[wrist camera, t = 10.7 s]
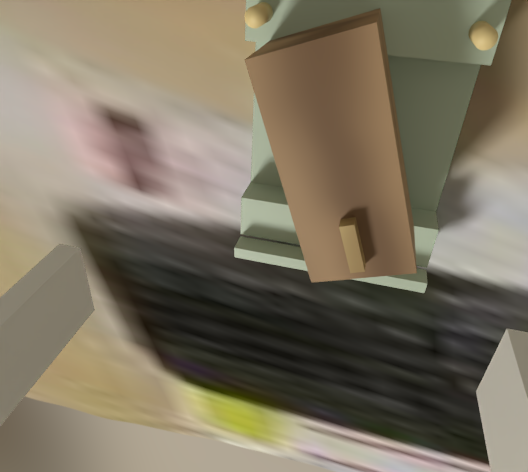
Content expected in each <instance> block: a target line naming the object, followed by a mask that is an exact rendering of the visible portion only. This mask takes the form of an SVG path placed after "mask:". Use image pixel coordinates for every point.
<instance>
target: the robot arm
mask: <svg viewBox="0 0 528 472" xmlns="http://www.w3.org/2000/svg"><path fill="white" fill-rule="evenodd" d="M93 311H94V306H93V301H92V297H91V292H90V288H89V284H88V279H87V275H86V270H85V266H84V261H83V257H82V252H81V248H79V247H74V246H68V245H63V244H59V245H58V246H57V247H55V248H54V249H53V250H52V251H51V252H50V253H49V254H48V255H47V256H46V257H44V258H43V259H42V260H41V261H40V262H39V263H38V264H37V265H36V266H35V267H33V268H32V269H31V270H30V271H29V272H28V273H27V274H26V275H25V276H24V277H22V278H21V279H20V280H19V281H18V282H17V283H16V284H15V285H14V286H13V287H11V288H10V289H9V290H8V291H7V292H6V293H5V294H4V295H3V296H2V297H0V426H1V425H2V424H3V422H4V421H5V420H6V419H7V417H8V416H9V415H10V414H11V412H12V411H13V410H14V409H15V407H16V406H17V405H18V404H19V402H20V401H21V400H22V399H23V397H24V396H25V395H26V394H27V393H28V391H29V390H30V389H31V388H32V386H33V385H34V384H35V383H36V382H37V380H38V379H39V378H40V377H41V375H42V374H43V373H44V372H45V370H46V369H47V368H48V367H49V365H50V364H51V363H52V362H53V360H54V359H55V358H56V357H57V356H58V354H59V353H60V352H61V351H62V349H63V348H64V347H65V346H66V344H67V343H68V342H69V341H70V339H71V338H72V337H73V336H74V335H75V333H76V332H77V331H78V330H79V328H80V327H81V326H82V325H83V323H84V322H85V321H86V320H87V318H88V317H89V316H90V315H91V314H92V312H93ZM476 393H477V399H478V404H479V410H480V415H481V420H482V426H483V431H484V436H485V442H486V447H487V452H488V458H489V463H490V469H491V472H528V332H522V331H517V330H512V329H506V331H505V333H504V335H503V337H502V340H501V342H500V344H499V346H498V348H497V350H496V352H495V354H494V356H493V358H492V360H491V362H490V364H489V366H488V368H487V370H486V372H485V374H484V377H483V379H482V381H481V383H480V385H479V387H478V389H477V391H476Z"/></svg>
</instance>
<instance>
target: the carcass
mask: <svg viewBox="0 0 528 472" xmlns="http://www.w3.org/2000/svg"><path fill="white" fill-rule="evenodd" d="M511 1H512V0H246V12H245V22H246V29H245V41H253V42H256V51H257V50H258V49H260V48H261V47H262V46H263V45H265V44H266V43H267V42H269V41H271V40H274V39H277V38H281V37H284V36H287V35H291V34H294V33H298V32H301V31H304V30H308V29H311V28H315V27H318V26H321V25H325V24H328V23H331V22H335V21H338V20H342V19H345V18H348V17H352V16H355V15H359V14H362V13H365V12H369V11H372V10H375V9H379V8H380V9H381V16H382V22H383V29H384V35H385V42H386V48H387V55H388V61H389V68H390V74H391V80H392V87H393V93H394V100H395V106H396V113H397V119H398V126H399V132H400V139H401V145H402V152H403V158H404V165H405V171H406V178H407V184H408V191H409V197H410V204H411V210H412V217H413V223H414V234H415V251H416V266H421V267H427V266H428V262H429V259H430V256H431V253H432V250H433V247H434V244H435V240H436V237H437V234H438V231H439V228H438V221H437V215H436V210H437V207H438V204H439V200H440V197H441V194H442V191H443V187H444V184H445V181H446V177H447V174H448V171H449V168H450V164H451V161H452V158H453V154H454V151H455V148H456V145H457V141H458V138H459V135H460V132H461V128H462V125H463V122H464V118H465V115H466V112H467V109H468V105H469V102H470V99H471V95H472V92H473V89H474V86H475V82H476V79H477V76H478V72H479V69H480V66H481V65H490V66H491V64H492V61H493V58H494V54H495V51H496V48H497V45H498V42H499V39H500V35H501V32H502V29H503V26H504V23H505V20H506V17H507V13H508V10H509V7H510V4H511ZM241 234H243V235H249V236H254V237H260V238H266V239H271V240H277V241H282V242H288V243H293V244H299V245H300V243H299V240H298V236H297V233H296V230H295V226H294V223H293V220H292V216H291V213H290V209H289V206H288V203H287V199H286V196H285V193H284V189H283V186H282V183H281V179H280V176H279V173H278V169H277V166H276V163H275V159H274V156H273V153H272V149H271V146H270V143H269V139H268V136H267V133H266V129H265V126H264V123H263V119H262V116H261V113H260V109H259V106H258V103H257V99H256V96H255V93H254V108H253V136H252V164H251V183H250V184H249V186H248V188H247V189H246V191H245V193H244V194H243V196H242V199H241ZM234 257H237V258H242V259H248V260H253V261H258V262H263V263H269V264H274V265H279V266H284V267H290V268H295V269H300V270H305V271H308V270H307V266H306V263H305V260H304V256H303V253H302V250H301V247H297V246H291V245H286V244H280V243H275V242H269V241H264V240H258V239H253V238H247V237H242V236H241V237H240V238H239V240H238V242H237V244H236V246H235V248H234ZM353 280H358V281H363V282H369V283H374V284H379V285H385V286H390V287H395V288H400V289H406V290H411V291H416V292H421V293H424V292H425V289H426V286H427V274H426V270H424V269H418V268H417V273H414V274H403V275H391V276H380V277H369V278H357V279H353Z"/></svg>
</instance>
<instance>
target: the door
mask: <svg viewBox="0 0 528 472" xmlns="http://www.w3.org/2000/svg"><path fill="white" fill-rule="evenodd" d="M245 63H246V66H247V69H248V73H249V76H250V79H251V83H252V86H253V89H254V93H255V96H256V99H257V103H258V106H259V109H260V113H261V116H262V119H263V123H264V126H265V129H266V133H267V136H268V139H269V143H270V146H271V149H272V153H273V156H274V159H275V163H276V166H277V169H278V173H279V176H280V179H281V183H282V186H283V189H284V193H285V196H286V199H287V203H288V206H289V209H290V213H291V216H292V220H293V223H294V226H295V230H296V233H297V236H298V240H299V243H300V246H301V250H302V253H303V256H304V260H305V263H306V266H307V270H308V273H309V276H310V280H311V282H323V281H334V280H346V279H357V278H369V277H380V276H391V275H403V274H414V273H417V267H416V251H415V234H414V223H413V217H412V210H411V204H410V197H409V191H408V184H407V178H406V171H405V165H404V158H403V152H402V145H401V139H400V132H399V126H398V119H397V113H396V106H395V100H394V93H393V87H392V80H391V74H390V68H389V61H388V55H387V48H386V42H385V35H384V29H383V22H382V16H381V9H380V8H379V9H375V10H372V11H369V12H365V13H362V14H359V15H355V16H352V17H348V18H345V19H342V20H338V21H335V22H331V23H328V24H325V25H321V26H318V27H315V28H311V29H308V30H304V31H301V32H298V33H294V34H291V35H287V36H284V37H281V38H277V39H274V40H271V41H269V42H267V43H266V44H265V45H263V46H262V47H261V48H260V49H258V50H257V51H256V52H254V53H253V54H252V55H250V56H249V57H248V58H246V59H245Z"/></svg>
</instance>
